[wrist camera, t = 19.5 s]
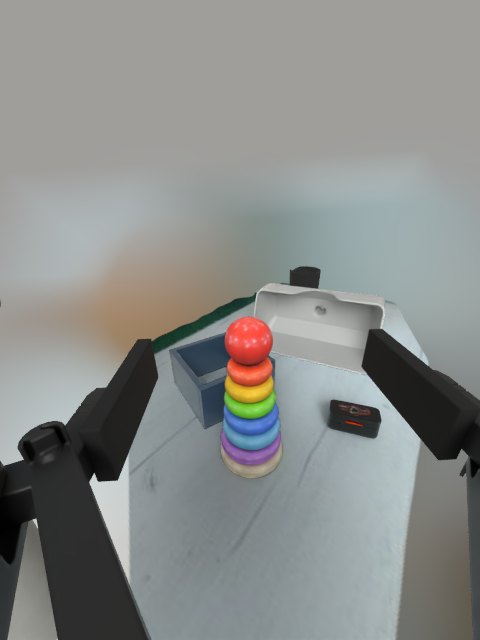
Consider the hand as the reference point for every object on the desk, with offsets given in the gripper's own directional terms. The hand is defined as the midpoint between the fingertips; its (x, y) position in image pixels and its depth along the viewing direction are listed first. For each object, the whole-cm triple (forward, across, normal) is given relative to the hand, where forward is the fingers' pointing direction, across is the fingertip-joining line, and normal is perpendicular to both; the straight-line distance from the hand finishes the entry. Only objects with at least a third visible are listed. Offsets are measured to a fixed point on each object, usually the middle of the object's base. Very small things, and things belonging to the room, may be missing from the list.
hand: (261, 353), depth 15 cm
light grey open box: (+37, +17, -21) cm, 46 cm away
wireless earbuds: (+13, +16, -21) cm, 29 cm away
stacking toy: (+10, 0, -21) cm, 23 cm away
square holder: (+22, -4, -21) cm, 31 cm away
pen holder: (+65, +22, -21) cm, 72 cm away
